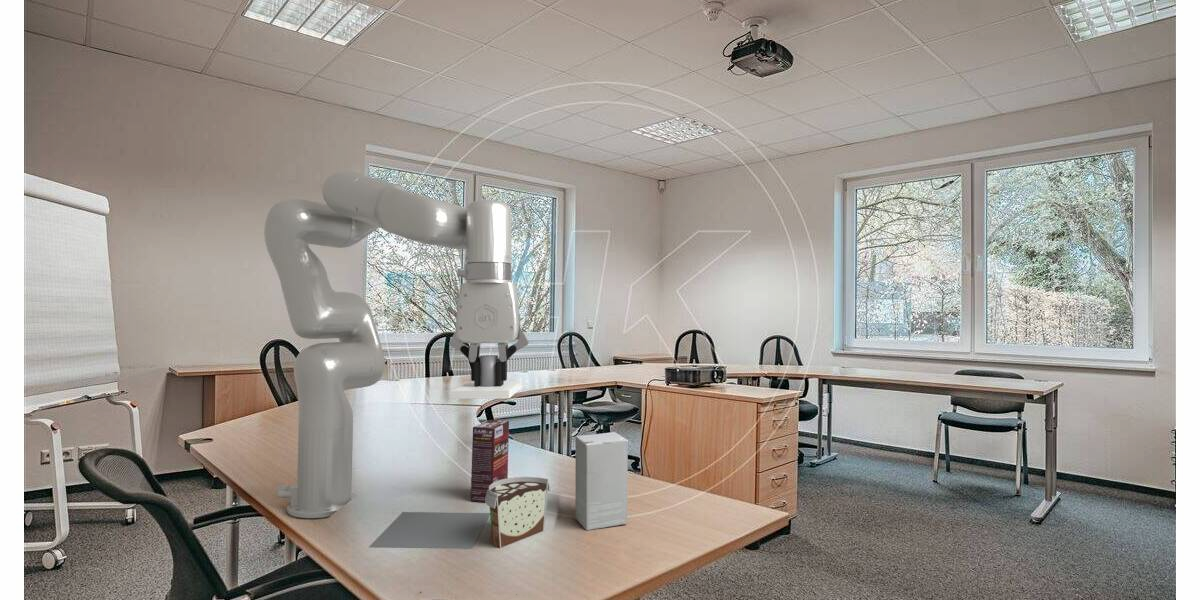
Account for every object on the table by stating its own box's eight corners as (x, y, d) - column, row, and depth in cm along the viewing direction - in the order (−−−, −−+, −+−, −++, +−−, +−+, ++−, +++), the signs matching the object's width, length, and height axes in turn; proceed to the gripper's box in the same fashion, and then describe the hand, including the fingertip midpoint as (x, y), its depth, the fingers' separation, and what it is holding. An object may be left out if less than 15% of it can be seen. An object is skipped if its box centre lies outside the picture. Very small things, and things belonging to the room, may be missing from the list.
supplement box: (492, 511, 113) (494, 428, 113) (469, 509, 114) (470, 426, 114) (508, 497, 121) (510, 420, 121) (486, 496, 122) (488, 419, 122)
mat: (368, 556, 91) (368, 547, 91) (402, 520, 107) (402, 511, 107) (471, 558, 91) (472, 548, 91) (490, 521, 107) (490, 513, 107)
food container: (524, 528, 104) (525, 471, 104) (549, 537, 100) (550, 478, 100) (468, 549, 95) (469, 487, 95) (493, 560, 91) (494, 495, 91)
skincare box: (614, 514, 112) (615, 430, 113) (629, 527, 106) (630, 438, 106) (572, 519, 109) (573, 433, 109) (585, 532, 103) (586, 441, 103)
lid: (451, 398, 91) (451, 358, 91) (471, 388, 105) (471, 353, 105) (509, 398, 91) (508, 358, 91) (521, 387, 105) (521, 352, 105)
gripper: (433, 274, 95) (433, 388, 95) (534, 273, 95) (535, 387, 94) (446, 277, 103) (446, 383, 102) (540, 276, 103) (540, 382, 102)
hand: (489, 384), depth 98 cm, fingers closed on lid, 3 cm apart
